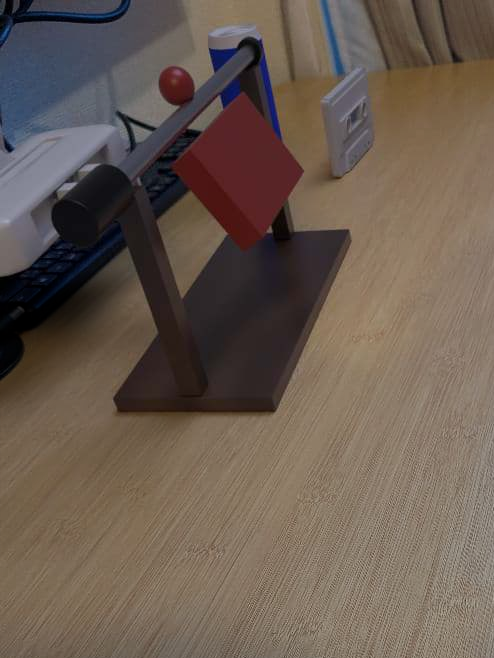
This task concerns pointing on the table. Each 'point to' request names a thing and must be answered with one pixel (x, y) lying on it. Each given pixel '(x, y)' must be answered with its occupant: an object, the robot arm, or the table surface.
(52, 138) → the robot arm
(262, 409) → the rod stand
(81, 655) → the table surface
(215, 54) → the beverage can
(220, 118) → the foosball rod
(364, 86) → the cassette
